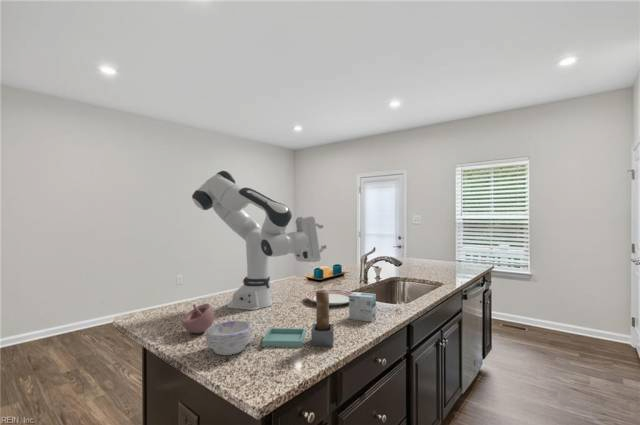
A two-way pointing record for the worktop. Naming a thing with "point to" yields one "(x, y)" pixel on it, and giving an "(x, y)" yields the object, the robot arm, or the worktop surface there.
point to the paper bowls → (229, 337)
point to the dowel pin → (322, 310)
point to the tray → (284, 337)
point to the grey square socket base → (322, 336)
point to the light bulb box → (362, 306)
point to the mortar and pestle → (199, 318)
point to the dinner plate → (332, 296)
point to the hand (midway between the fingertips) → (324, 236)
